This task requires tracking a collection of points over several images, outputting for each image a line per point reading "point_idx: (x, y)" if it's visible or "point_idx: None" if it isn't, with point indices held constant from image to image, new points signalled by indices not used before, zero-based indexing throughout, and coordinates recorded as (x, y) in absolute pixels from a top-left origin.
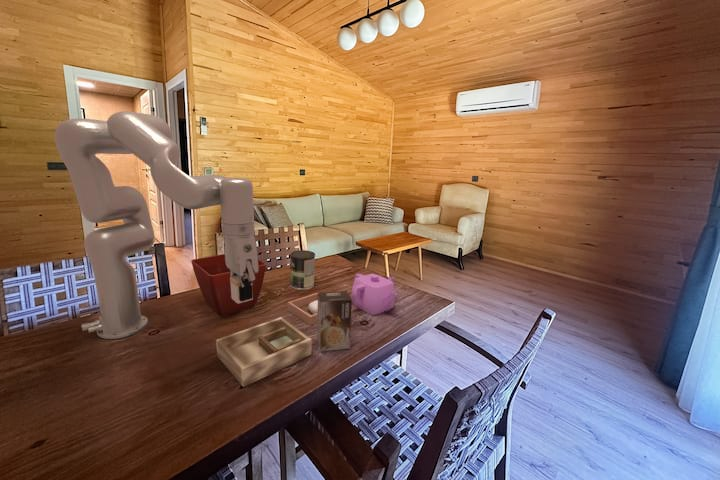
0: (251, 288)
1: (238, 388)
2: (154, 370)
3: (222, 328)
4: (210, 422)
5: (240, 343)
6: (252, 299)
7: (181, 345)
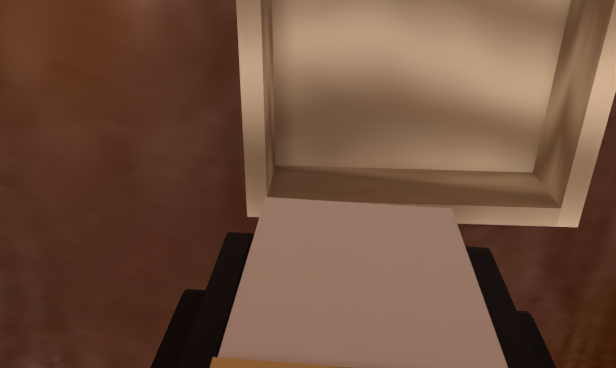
0: (527, 347)
1: None
2: None
3: (18, 53)
4: (593, 317)
5: (272, 75)
6: (452, 212)
7: (92, 249)
